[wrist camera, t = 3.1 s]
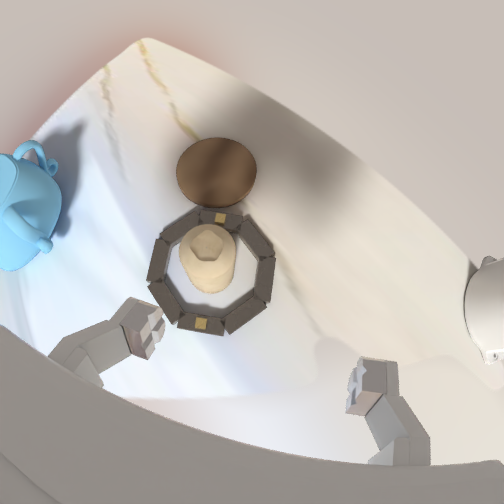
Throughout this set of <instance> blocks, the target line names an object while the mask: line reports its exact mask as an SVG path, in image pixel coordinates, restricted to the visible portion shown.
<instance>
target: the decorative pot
mask: <svg viewBox="0 0 504 504" xmlns="http://www.w3.org/2000/svg"><path fill="white" fill-rule="evenodd" d="M32 148H34V149H35V151H36V153H37V157H38V161H39V166H40V167H39V166H37V165H36V164H34V163H33V162H30V161H28V160H26V159H24V158H22V156H23V155H24V154H25V153H26V152H27V151H28V150H30V149H32ZM49 167H50V168H49ZM48 168H49V169H48ZM57 170H58V163H57V161H56V160H55V159H52V158H50V159H48V160H47V161H46V157H45V153H44V150H43V148H42V146H41V145H40V144H39V143H38V142H37V141H34V140H29V141H26V142H24V143H23V144H21V145H20V146H19V147H18V148H17V149H16V150H15V152H14V154H13V155H9V154H0V268H1V269H2V270H5V271H15V270H18V269H20V268H22V267H23V266H25V265H26V264H27V263H29V262H30V261H31V260H32V259H33V258H34V257H35V256H36V255H37V254H38V253H39V252H40V250H41V251H42V252H44V253H45V254H47V253H49V252H50V251H51V250H52V247H53V243H52V241H51V240H50V239H49V237H50V235H51V234H52V232H53V230H54V227H55V225H56V223H57V220H58V218H59V214H60V211H61V201H62V196H61V191H60V189H59V186H58V185H57V183H56V182H55V181H54V179H53V178H52V177H53V176H54V175H55V174H56V172H57Z"/></svg>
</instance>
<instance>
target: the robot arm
mask: <svg viewBox="0 0 504 504" xmlns="http://www.w3.org/2000/svg"><path fill="white" fill-rule="evenodd" d="M162 315H163V310H162V308H161V307H158V306H155V305H153V304H150V303H147V302H144V301H142V300H139V299H136V298H133V297H130V298H128V299H127V300H126V301H125V302H124V303H123V305H122V306H121V307H120V308H119V309H118V311H117V312H116V313H115V314H114V315H113V317H112V318H111V319H110V320H109V321H108V320H105V321H102V322H100V323H98V324H95V325H93V326H90V327H88V328H86V329H83V330H81V331H78V332H76V333H73V334H71V335H68V336H66V337H64V338H63V339H62V340H61V341H60V342H59V343H58V344H57V346H56V347H55V348H54V349H53V351H52V352H51V353H50V354H49V355H48V357H47V356H46V355H44V354H43V353H41V352H40V351H38V350H37V349H35V348H34V347H32V346H31V345H29V344H28V343H26V342H25V341H24V340H22V339H21V338H19V337H18V336H17V335H15V334H14V333H13V332H11V331H10V330H9V329H7V328H6V327H5V326H3V325H0V504H504V465H503V464H502V463H501V462H500V461H499V460H488V461H481V462H473V463H463V464H450V465H431V466H430V437H429V435H428V434H427V432H426V431H425V429H424V428H423V426H422V425H421V423H420V422H419V420H418V419H417V417H416V416H415V415H414V413H413V411H412V410H411V408H410V407H409V405H408V404H407V402H406V401H405V399H404V398H403V397H402V396H399V380H398V364H397V362H393V361H387V360H382V359H375V358H368V357H362V356H361V357H360V358H359V360H358V362H357V367H356V368H354V369H353V371H352V373H351V375H350V378H349V383H348V391H349V393H350V395H349V397H348V398H347V403H346V413H347V414H353V415H359V416H365V419H366V421H367V424H368V426H369V428H370V430H371V432H372V434H373V437H374V439H375V441H376V443H377V445H378V448H379V450H380V452H378V453H377V454H376V455H375V456H374V457H372V458H371V459H370V460H368V464H358V463H349V462H340V461H331V460H324V459H317V458H311V457H305V456H300V455H294V454H289V453H284V452H279V451H275V450H270V449H266V448H262V447H257V446H253V445H250V444H246V443H242V442H238V441H235V440H231V439H228V438H224V437H221V436H218V435H214V434H211V433H208V432H205V431H202V430H199V429H196V428H193V427H190V426H188V425H185V424H182V423H180V422H177V421H174V420H172V419H169V418H167V417H164V416H162V415H159V414H157V413H154V412H152V411H150V410H147V409H145V408H143V407H140V406H138V405H136V404H134V403H131V402H129V401H127V400H125V399H123V398H121V397H119V396H117V395H115V394H113V393H111V392H109V391H107V390H105V389H103V388H102V387H103V385H104V384H103V381H102V380H101V378H100V376H99V374H100V373H101V372H103V371H105V370H107V369H108V368H110V367H112V366H113V365H115V364H117V363H118V362H120V361H122V360H123V359H125V358H127V357H129V356H130V355H131V354H133V355H135V356H138V357H141V358H143V359H146V360H148V359H149V358H150V356H151V354H152V353H153V351H154V350H155V346H154V344H155V343H158V342H160V340H161V339H162V337H163V334H164V331H165V321H164V320H163V318H162V317H161V316H162ZM465 318H466V323H467V327H468V331H469V333H470V336H471V338H472V340H473V341H474V343H475V344H476V345H477V346H478V348H479V349H480V351H481V353H482V356H483V359H484V362H485V363H486V364H492V363H495V362H497V361H499V360H501V359H503V358H504V258H502V259H500V260H496V259H495V258H493V257H491V256H487V257H485V258H484V259H483V261H482V264H481V267H480V269H479V270H478V271H477V272H476V273H475V274H474V275H473V276H472V278H471V279H470V281H469V284H468V286H467V290H466V295H465Z"/></svg>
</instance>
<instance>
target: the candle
mask: <svg viewBox="0 0 504 504" xmlns="http://www.w3.org/2000/svg"><path fill="white" fill-rule="evenodd" d="M179 257H180V261H181V263H182V265H183V267H184V269H185V271H186V273H187V275H188V277H189V279H190V281H191V282H192V284H193V285H194V286H195V287H196V288H197V289H198V290H200V291H202V292H204V293H210V294H213V293H218V292H221V291H223V290H224V289H225V288H227V287H228V285H229V284H230V283H231V281H232V278H233V274H234V266H235V257H236V246H235V242H234V240H233V238H232V236H231V235H230V234H229V233H228V232H227V231H226V230H225V229H223V228H222V227H219V226H217V225H212V224H203V225H199V226H196V227H194V228H192V229H191V230H190V231H188V232H187V233H186V234H185V236H184V237H183V239H182V241H181V243H180V247H179Z"/></svg>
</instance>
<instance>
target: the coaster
mask: <svg viewBox="0 0 504 504" xmlns="http://www.w3.org/2000/svg"><path fill="white" fill-rule="evenodd" d="M176 174H177V180H178V184H179V187H180V189H181V191H182V192H183V194H184V195H185V196H186V197H187V198H188V199H189V200H191V201H192V202H194V203H196V204H198V205H200V206H204V207H208V208H222V207H227V206H231V205H233V204H235V203H237V202H239V201H241V200H242V199H243V198H244V197H246V196H247V195H248V193H249V192H250V191H251V189H252V187H253V185H254V182H255V178H256V163H255V160H254V158H253V156H252V154H251V153H250V152H249V150H248V149H247V148H246V147H244V146H243V145H242V144H240V143H238V142H236V141H233V140H230V139H226V138H209V139H205V140H202V141H199V142H197V143H195V144H193V145H192V146H190V147H189V148H188V149H187V150H186V151H185V152H184V153H183V154H182V156H181V157H180V159H179V161H178V164H177V170H176Z"/></svg>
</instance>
